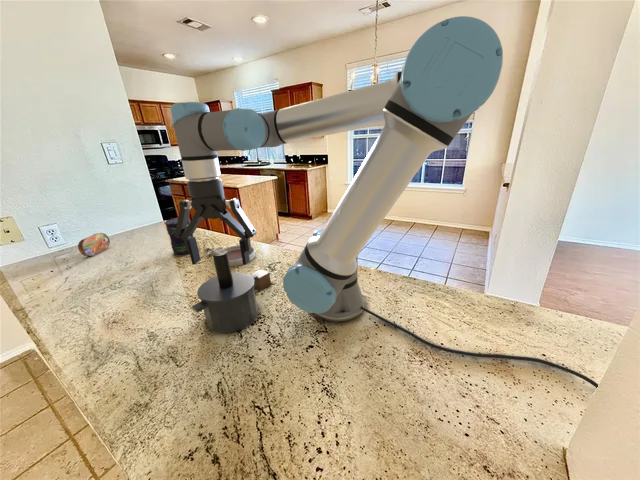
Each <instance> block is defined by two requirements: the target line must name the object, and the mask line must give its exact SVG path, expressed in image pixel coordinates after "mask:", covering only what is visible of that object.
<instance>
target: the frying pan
mask: <svg viewBox="0 0 640 480" xmlns="http://www.w3.org/2000/svg"><path fill="white" fill-rule="evenodd" d="M221 250H225V251H227V253H228V258H229V263H230V267H236V266H241V265H243V261H242V255H241V249H240V244H239V245H238V244H237V245H232V246H228V247H225V248H224V247H223V246H219V247H216V248H214V249H213V248H210V247H209V246H207V247H205V251H206V252H207V253H206V255H207V256H209V255H211V253H212V254H213V253H214V252H217V251H221ZM248 252H249V258H250V261H249V262H251V261H252V260H253V259H254V258H255V255H256V252H257V251H256V248H255V247H253V246H251V249H250V250H249V251H248Z"/></svg>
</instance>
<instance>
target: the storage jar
mask: <svg viewBox="0 0 640 480" xmlns="http://www.w3.org/2000/svg"><path fill="white" fill-rule="evenodd" d="M177 222H178V217H176V218H171V219H168V220H166V221H165V222H164V223H165V227H166V231H167V234H168V236H169V239H170V246H171V250H172V252H173V255H174V256H176V257H181V256H182V257H183V256H188V255H190V253H189V251H187V250H186V247H185V243H184V240H183V239H182V238H176V237H175V236H174V235H175V230H176V226H177ZM190 222H191V219H190V217H189V218H188V222H187V226H186V229H187V227H188V226H189V224H190ZM185 231H186V230H185ZM192 237H194V235H193V236H192ZM192 237H191V238H192Z"/></svg>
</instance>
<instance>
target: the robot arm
mask: <svg viewBox="0 0 640 480" xmlns="http://www.w3.org/2000/svg"><path fill="white" fill-rule="evenodd" d="M503 64H504V50H503V45H502V42H501V39H500V37H499V36H498V33H497V32H496V31H495V29H494V28H493V27H492V26H491V25H490V24H489V23H487V22H485V21H484V20H482V19H480V18H477V17H474V16H468V15H461V16H459V15H458V16H453V17H450V18H446V19H444V20H441V21H439V22H437V23H435V24H434V25H432V26H430V27H429V28H428V29H426V30H425V31H424V32H423V33H422V34H421V35H420V36H419V37H418V38H417V39H416V41H415V42H414V43H413V45H412V46H411V47H410V50H409V51H408V53H407V55H406V57H405V59H404V63H403V65H402V68H401V71H397V72H395V74H394V76H392V78H391V79H389V80H385V81H382V82H379V83H374V84H370V85H367V86H364V87H360V88H356V89H352V90H349V91H345V92H341V93H337V94H333V95H329V96H324V97H321V98H318V99H314V100H310V101H306V102H301V103H299V104H295V105H291V106H288V107H284V108H283V107H282V108H280V109H276V110H272V111H269V112H263V113H262V112H261V113H260V112H257V111H256V110H255V109H254V108H239V107H238V108H236V107H235V108H233V109H227V110H220V111H219V110H218V111H210V108H209V105H208V104H207V103H204V102H198V101H186V102H185V101H182V102H175V103H173V104H171V107H170V114H171V120H172V128H173V129H174V134H175V138H176V142H177V147H178V151H179V155H180V159H181V164H182V168H183V173H184V178H185V179H186V180H188V181H187V183H186V185H187V190H188V194H189V197H190V198H191V200H190V199H188V198H185V199H183V200H180V201H179V202H178V206H179V213H178V217H177V218H178V222H177V226H176V230H175V235H174V236H175V237H176V238H182V239H183V240H184V243H185V247H186V250H187V251H189V253H190V254H189V256H190V261H191V264H192V265H197V264H198V263H199V262H200V261H201V255H200V250H199V247H198V242H197V238H196V236H194V233H195V232H196V230H197V228H198V227H199V226H200V223H201V222H202V220H209V219H211V220H217V219H219V221H223V223H225V225H227V227H229V228H230V229H231V230H232V231H233V232H234V233H235V234H236V235H237V236H238V237H239V238H240V239H239V240H238V244H239V245H240V249H241V255H242V261H243V264H242V265H243V266H246V265H247V264H248V263H249V262H251V261H250V258H249V252H248V251H249V250H250V249H251V247H252V244H251V243H252V242H251V239H252V238H254V236H255V235H256V234H257V230H256V228H255V227H254V225H253V224H252V222H251V221H250V219H249V217H248V216H247V215H246V213H245V212H244V210H243V209H242V207H241V204H240V200H239V198H238V197H234V198H232V199H226V197H225V190H224V183H223V179H222V178H221V175H222V174H221V168H220V161H219V156H218V152H219V151H241V152H245V151H252V150H257V149H260V148H261V149H262V148H276V147H280V146H283V145H286V144H290V143H296V142H300V141H301V142H302V141H305V140H310V139H315V138H320V137H325V136H331V135H335V134H340V133H345V132H351V131H356V130H359V129H360V130H361V129H366V128H370V127H375V126H376V127H377V126H380V125H384V126H383V128H382V129H381V131H380V133H379V135H378V137H377V138H376V140H375V142H374V143H373V144H372V146H371V148H370V150H369V152H368V154H367V155H366V157H365V158H364V160H363V162H362V163H361V165H360V167H359V168H358V171H356V174H355V175H354V177H353V179H352V180H351V182H350V184H349V186H348V188H347V189H346V190H345V193H344V194H343V196H342V197H341V199H340V201H339V202H338V204H337V206H336V208H335V209H334V211H333V213H332V215H331V216H330V218H329V220H328V221H327V223H326V225H325V226H324V228H323V227H322V228H319V229H316V230H314V231H313V232H312V237H310V238H309V240H308V241H307V243H306V244H305V246H304V248H303V249H302V251H301V253H300V255H299V256H298V258H297V260H296V261H295V263H294V264H293V265H291V266H290V267H289V268H288V269H287V271H286V273H285V275H284V276H283V279H282V285H283V291H284V292H285V294H286V296H287V298H288V299H289V301H290V302H291V303H292V304H293V305H294V306H295V307H296V308H298V309H299V310H301V311H303V312H306V313H309V314H314V315H315V316H316V317H317V318H319V319H321V320H324V321H328V322H334V323H340V322H347V321H351V320H354V319H355V318H357V317H359V316H360V315H361V314H362V313H363V312H366V313H368V314H369V315H372V316H373V317H375V318H377V319H378V320H381V321H382V322H384V323H386V324H387V325H390V326H391V327H393V328H396V329H398V330H399V331H402V332H404V333H406V334H407V335H409V336H411V337H413V338H414V339H416V340H418V341H419V342H421V343H422V344H425V345H427V346H428V347H431V348H434V349H437V350H440V351H442V352H447V353H451V354H456V355H463V356H468V357H474V358H475V357H476V358H488V359H489V358H492V359H505V360H506V359H507V360H514V361H515V360H516V361H526V362H529V361H530V362H535V363H538V364H539V363H540V364H542V365H547V366H549V367H552V368H555V369H558V370H560V371H563V372H566V373H568V374H571V375H574V376H576V377H578V378H580V379H582V380H584V381H585V382H587V383H589V384H590V385H592V386H593V387H594V388H596V389H597V387H598V385H599V383H597V382H596V381H594V380H593V379H591V378H590V377H588V376H586V375H584V374H583V373H580V372H578V371H575V370H573V369H571V368H568V367H566V366H563V365H560V364H557V363H554V362H552V361H548V360H545V359H542V358H537V357H530V356H521V355H510V354H498V353H479V352H470V351H465V350H464V351H463V350H458V349H453V348H447V347H443V346H441V345H438V344H434V343H432V342H430V341H428V340H426V339H423V338H421V337H420V336H418V335H417V334H415V333H414V332H412V331H410V330H408V329H407V328H404V327H402V326H400V325H398V324H397V323H394V322H392V321H390V320H388V319H386V318H384V317H382V316H380V314H379V315H378V314H377V313H375V312H373V311H371V310H370V309H368V308H366V307H365V298H364V295H363V293H362V290H361V286H360V284H359V280H358V279H359V278H358V275H359V273H358V271H359V270H358V268H359V267H358V265H359V264H358V260H359V259H358V256H359V254H360V253H361V251H362V250H363V249H364V248H365V246H366V245H367V244H368V241H369V240H370V239H371V237H372V236H373V234H375V232H376V230H377V229H378V228H379V226H380V225H381V224H382V222H383V221H384V219H385V218H386V217H387V215H388V214H389V212H390V211H391V210H392V208H393V207H394V205H395V204H396V202H397V201H398V200H399V198H400V197H401V196H402V194H403V193H404V191H405V190H406V189H407V187H408V186H409V185H410V183H411V181H412V180H413V179H414V178H415V176H416V175H417V173H418V172H419V170H420V169H421V168H422V166H423V165H424V163H425V162H426V161H427V159H428V158H429V156H430V155H431V154H432V153H434V152H438V151H441V150H445V149H447V148H448V147H449V145H450V144H451V143H452V141H453V140H454V139H455V137H456V136H457V135H458V133H460V131H461V130H462V128H463V127H464V126H465V124H466V123H467V122H468V120H469V119H470V117H471V116H472V115H473V113H474V112H476V111H478V110H479V109H480V107H482V106H483V105H484V104H486V102H487V101H488V100H489V99H490V97H491V96H492V94H493V93H494V91H495V89H496V87H497V85H498V82H499V80H500V77H501V74H502V69H503V66H504V65H503ZM227 207H228V209H230V210H231V212H232V214H233V215H234V216H235V218H234V217H233V216H232V214H231V212H230V211H229V210H228V209H227ZM191 209H193V210H194V211H195V213H194V214H193V216H192V219H191V220H190V224H189V226H188V227H187V229H186V226H187V222H188V218H189V219H190V214H191ZM185 230H186V231H185ZM192 236H193V237H192ZM191 237H192V238H191Z"/></svg>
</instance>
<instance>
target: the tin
mask: <svg viewBox="0 0 640 480" xmlns="http://www.w3.org/2000/svg"><path fill="white" fill-rule="evenodd" d="M110 242H111V241H110V238H109V236H108V234H106V233H104V232H98V233H97V232H96V233H94V234H92V235H90V236H87V237H85V238H82V239H81V240H80V241H79V242H78V243H77V249H78V252H79V253H80V254H81V255H82V256H84V257H93V256H96V255H97V254H99V253H102V252H103V251H105V250H108V248H110V244H111V243H110ZM106 246H107V247H106Z"/></svg>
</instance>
